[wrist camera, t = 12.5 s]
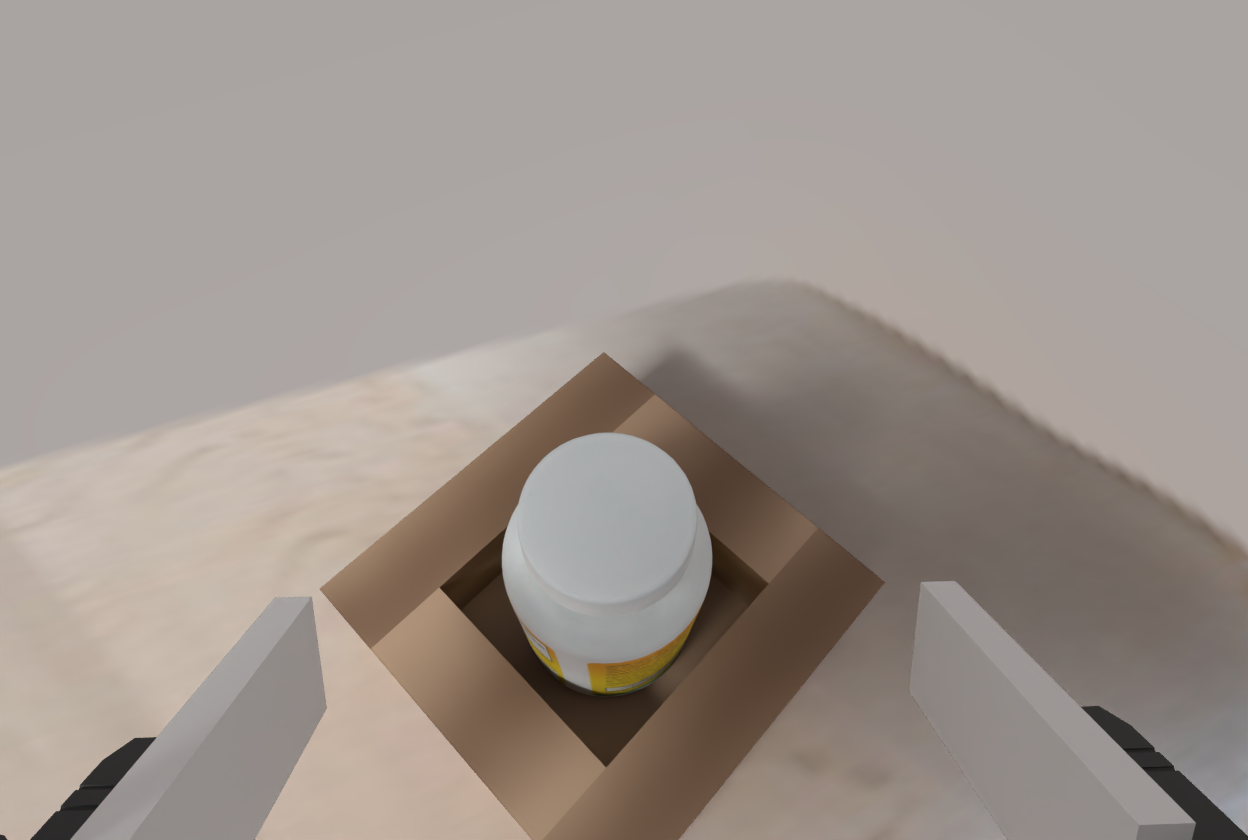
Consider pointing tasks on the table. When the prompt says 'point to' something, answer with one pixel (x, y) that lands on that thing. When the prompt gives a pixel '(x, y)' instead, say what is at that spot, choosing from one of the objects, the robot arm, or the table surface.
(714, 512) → the socket block
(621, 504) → the supplement bottle
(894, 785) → the table surface
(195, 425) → the table surface
